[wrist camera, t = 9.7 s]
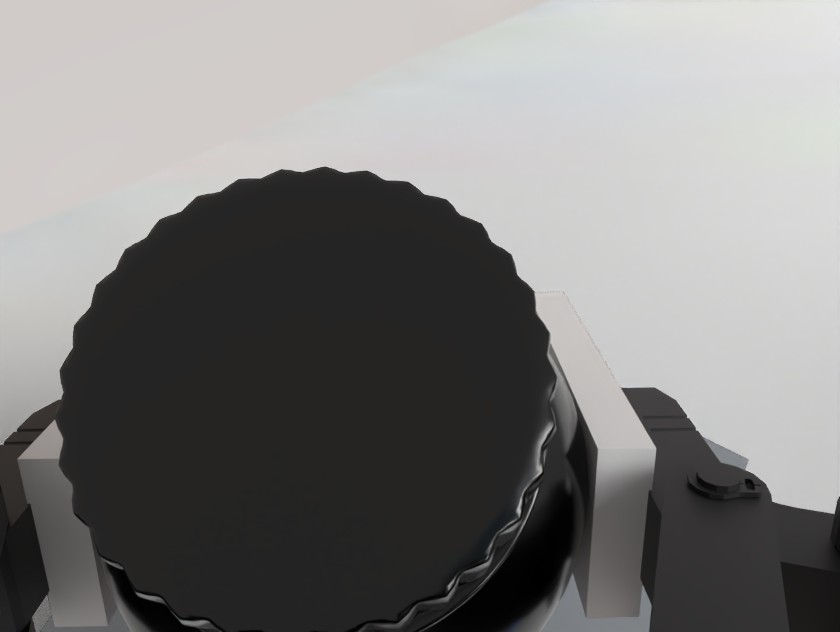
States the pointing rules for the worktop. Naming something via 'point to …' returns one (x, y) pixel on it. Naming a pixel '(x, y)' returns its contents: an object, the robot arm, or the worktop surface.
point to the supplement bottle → (323, 419)
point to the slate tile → (564, 627)
